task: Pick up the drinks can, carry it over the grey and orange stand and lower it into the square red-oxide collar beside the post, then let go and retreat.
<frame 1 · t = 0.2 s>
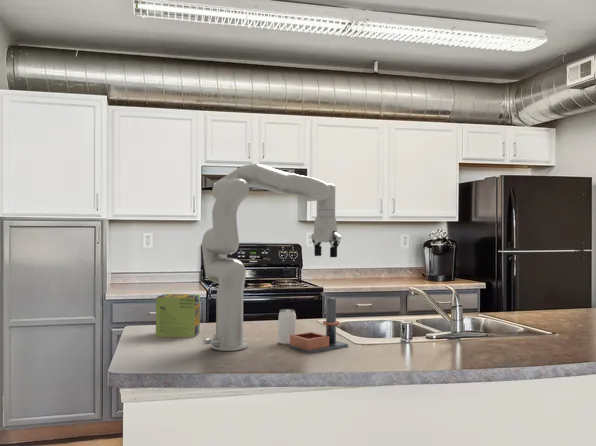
hand: (325, 256, 223), 31 cm above the counter, tool pointing down, fingers open, 9 cm apart
grey and orange stand: (318, 346, 198), on the counter
can: (287, 343, 204), on the counter
protein box: (178, 335, 218), on the counter
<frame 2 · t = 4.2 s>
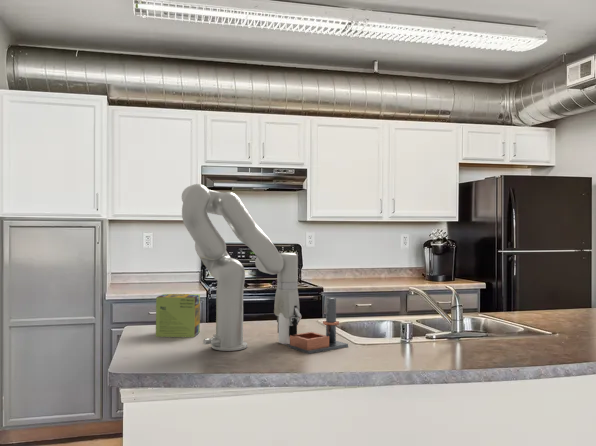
hand: (287, 334, 204), 3 cm above the counter, tool pointing down, fingers closed on can, 6 cm apart
can: (287, 343, 204), on the counter, touching gripper
everything else where it was.
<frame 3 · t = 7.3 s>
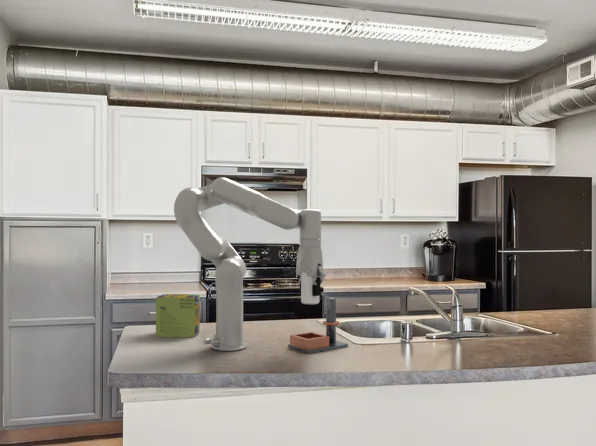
hand: (309, 294, 195), 19 cm above the counter, tool pointing down, fingers closed on can, 6 cm apart
can: (310, 303, 195), point 16 cm above the counter, touching gripper
everything else where it was.
when the fingers open (6 cm above the counter, at t = 10.5 s): can drops 1 cm, resting on grey and orange stand.
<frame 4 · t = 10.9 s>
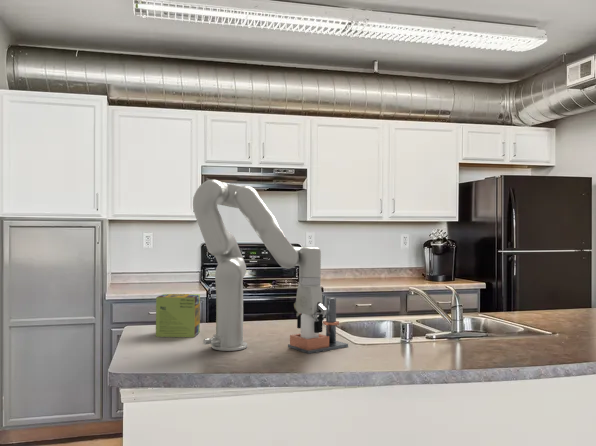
hand: (309, 330, 195), 6 cm above the counter, tool pointing down, fingers open, 9 cm apart
can: (309, 346, 195), point 1 cm above the counter, touching grey and orange stand
everything else where it was.
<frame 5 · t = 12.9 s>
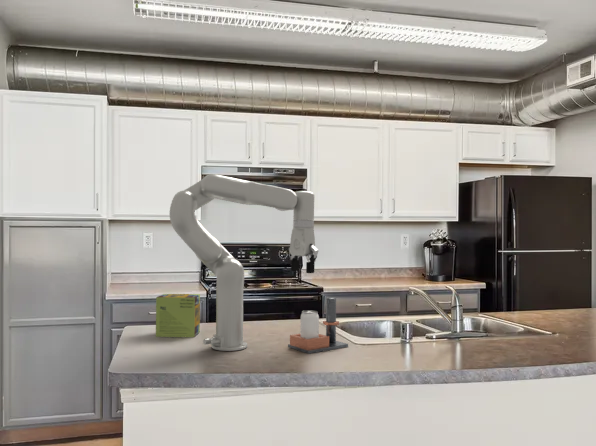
hand: (302, 271, 202), 26 cm above the counter, tool pointing down, fingers open, 9 cm apart
nothing on the counter moved.
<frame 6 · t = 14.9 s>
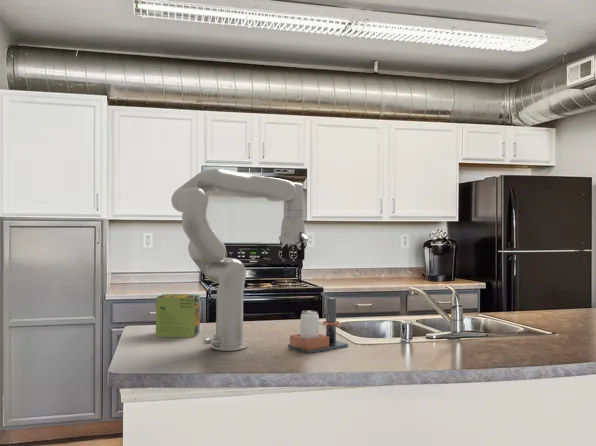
hand: (293, 259, 213), 30 cm above the counter, tool pointing down, fingers open, 9 cm apart
nothing on the counter moved.
at the end: can 0.0 cm from the target spot on the grey and orange stand, point 0.8 cm above the grey and orange stand's base; can tilted 0°; the gripper is holding nothing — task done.
